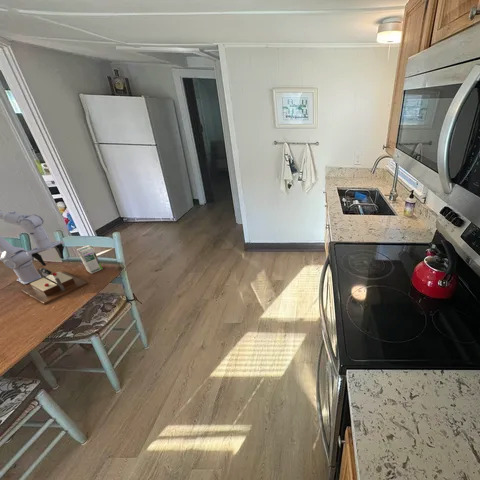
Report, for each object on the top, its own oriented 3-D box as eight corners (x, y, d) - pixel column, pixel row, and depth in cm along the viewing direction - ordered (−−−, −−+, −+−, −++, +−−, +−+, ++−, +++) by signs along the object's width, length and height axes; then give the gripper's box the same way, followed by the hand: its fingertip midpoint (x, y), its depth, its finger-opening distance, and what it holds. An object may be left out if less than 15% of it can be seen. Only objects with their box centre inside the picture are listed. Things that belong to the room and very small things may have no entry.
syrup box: (91, 274, 148) (80, 251, 141) (86, 271, 151) (75, 248, 144) (103, 269, 152) (93, 247, 146) (98, 266, 155) (88, 244, 149)
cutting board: (21, 290, 135) (12, 277, 131) (64, 272, 150) (57, 259, 146) (44, 304, 126) (35, 290, 122) (87, 283, 140) (81, 270, 136)
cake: (32, 288, 135) (28, 280, 133) (61, 276, 145) (57, 268, 143) (46, 296, 130) (41, 288, 128) (75, 282, 139) (71, 275, 137)
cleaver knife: (41, 277, 138) (35, 267, 135) (46, 275, 139) (40, 265, 136) (56, 284, 132) (50, 274, 129) (60, 282, 133) (54, 272, 130)
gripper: (25, 246, 127) (39, 270, 133) (62, 234, 138) (73, 256, 145) (18, 243, 130) (32, 267, 136) (55, 232, 141) (66, 254, 147)
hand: (53, 261), depth 140 cm, fingers open, 7 cm apart
